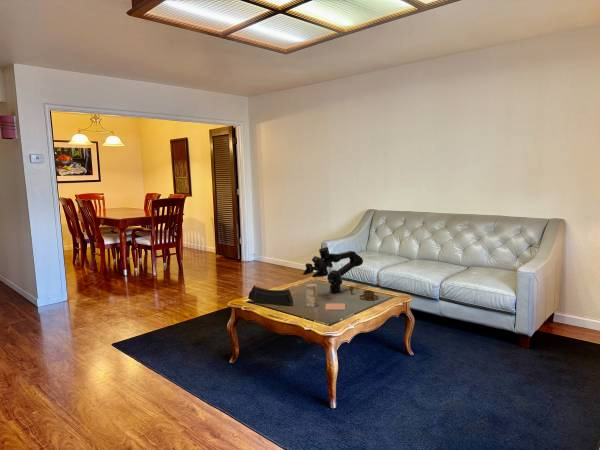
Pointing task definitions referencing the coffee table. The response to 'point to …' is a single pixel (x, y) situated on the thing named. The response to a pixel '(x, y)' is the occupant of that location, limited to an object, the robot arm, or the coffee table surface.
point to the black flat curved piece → (270, 296)
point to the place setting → (366, 295)
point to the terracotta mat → (334, 306)
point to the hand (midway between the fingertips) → (307, 275)
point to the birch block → (311, 295)
